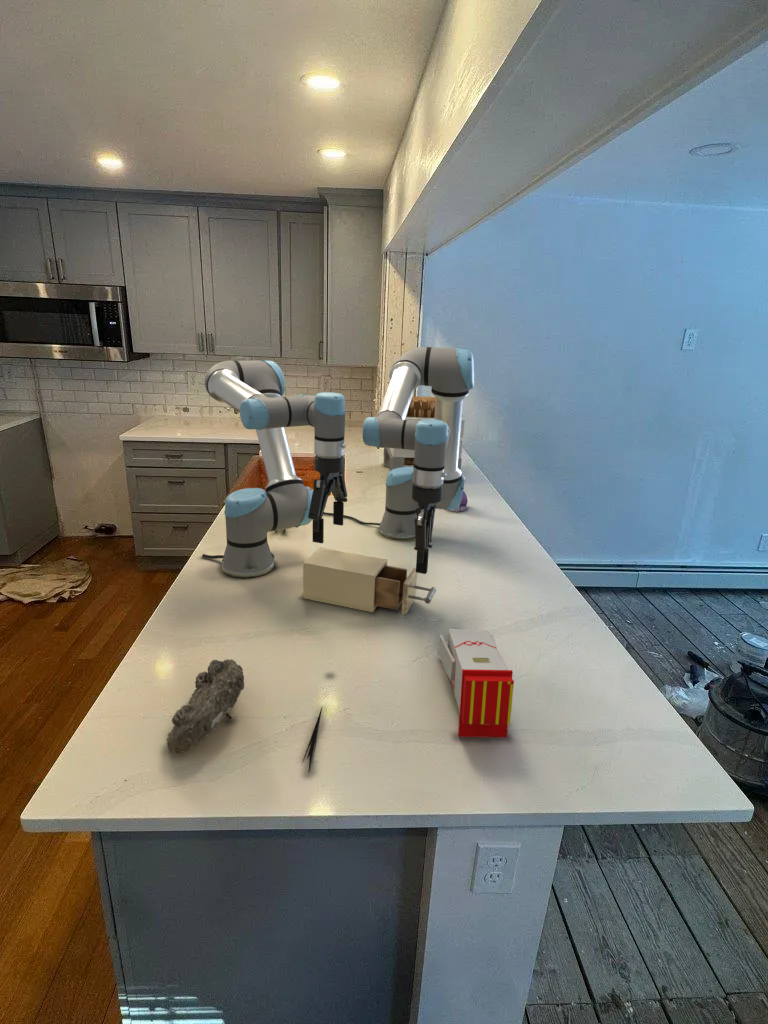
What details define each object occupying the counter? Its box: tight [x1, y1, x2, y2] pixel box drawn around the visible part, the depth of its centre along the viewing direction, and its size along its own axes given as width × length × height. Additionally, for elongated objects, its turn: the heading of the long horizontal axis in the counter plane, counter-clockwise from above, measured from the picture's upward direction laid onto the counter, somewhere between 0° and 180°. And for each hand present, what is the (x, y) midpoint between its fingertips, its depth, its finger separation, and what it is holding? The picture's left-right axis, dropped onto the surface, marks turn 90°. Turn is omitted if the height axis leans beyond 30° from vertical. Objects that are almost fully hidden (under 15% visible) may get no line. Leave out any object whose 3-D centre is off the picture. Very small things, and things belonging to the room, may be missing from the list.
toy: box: [437, 628, 515, 738], centre depth 117 cm, size 12×13×30 cm
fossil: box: [166, 658, 245, 754], centre depth 106 cm, size 22×10×15 cm
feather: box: [301, 673, 332, 771], centre depth 108 cm, size 2×28×2 cm
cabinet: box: [302, 547, 388, 613], centre depth 154 cm, size 20×11×11 cm, turn 72°
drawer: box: [374, 564, 437, 615], centre depth 150 cm, size 25×10×9 cm, turn 72°
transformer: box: [383, 395, 465, 472], centre depth 268 cm, size 34×33×41 cm
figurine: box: [449, 471, 468, 512], centre depth 225 cm, size 9×10×15 cm
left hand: (328, 533), depth 151 cm, fingers open, 13 cm apart
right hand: (421, 572), depth 146 cm, fingers closed
